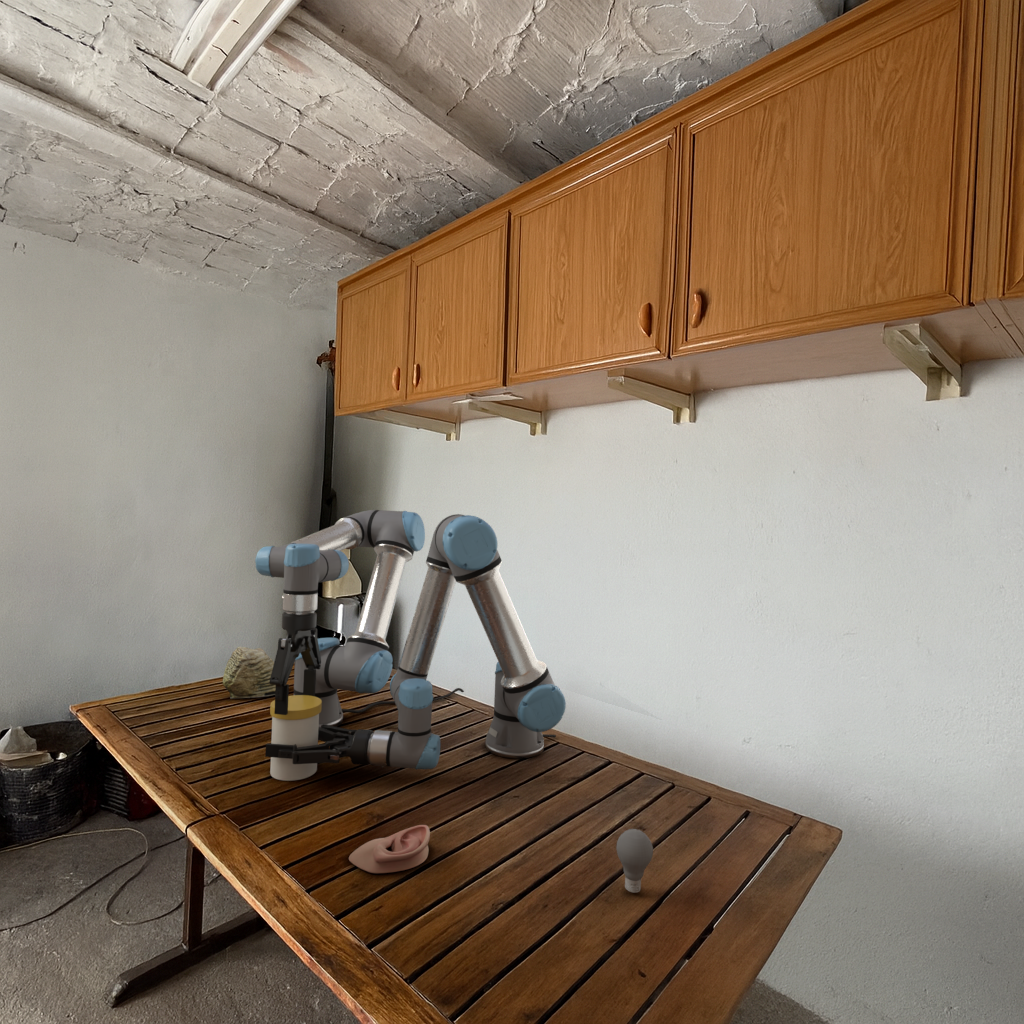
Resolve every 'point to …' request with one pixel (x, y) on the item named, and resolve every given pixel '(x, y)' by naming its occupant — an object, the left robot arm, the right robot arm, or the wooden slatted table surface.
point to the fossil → (249, 674)
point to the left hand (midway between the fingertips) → (295, 705)
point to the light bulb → (634, 857)
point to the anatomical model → (393, 851)
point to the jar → (291, 734)
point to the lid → (299, 707)
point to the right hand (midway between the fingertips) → (277, 740)
